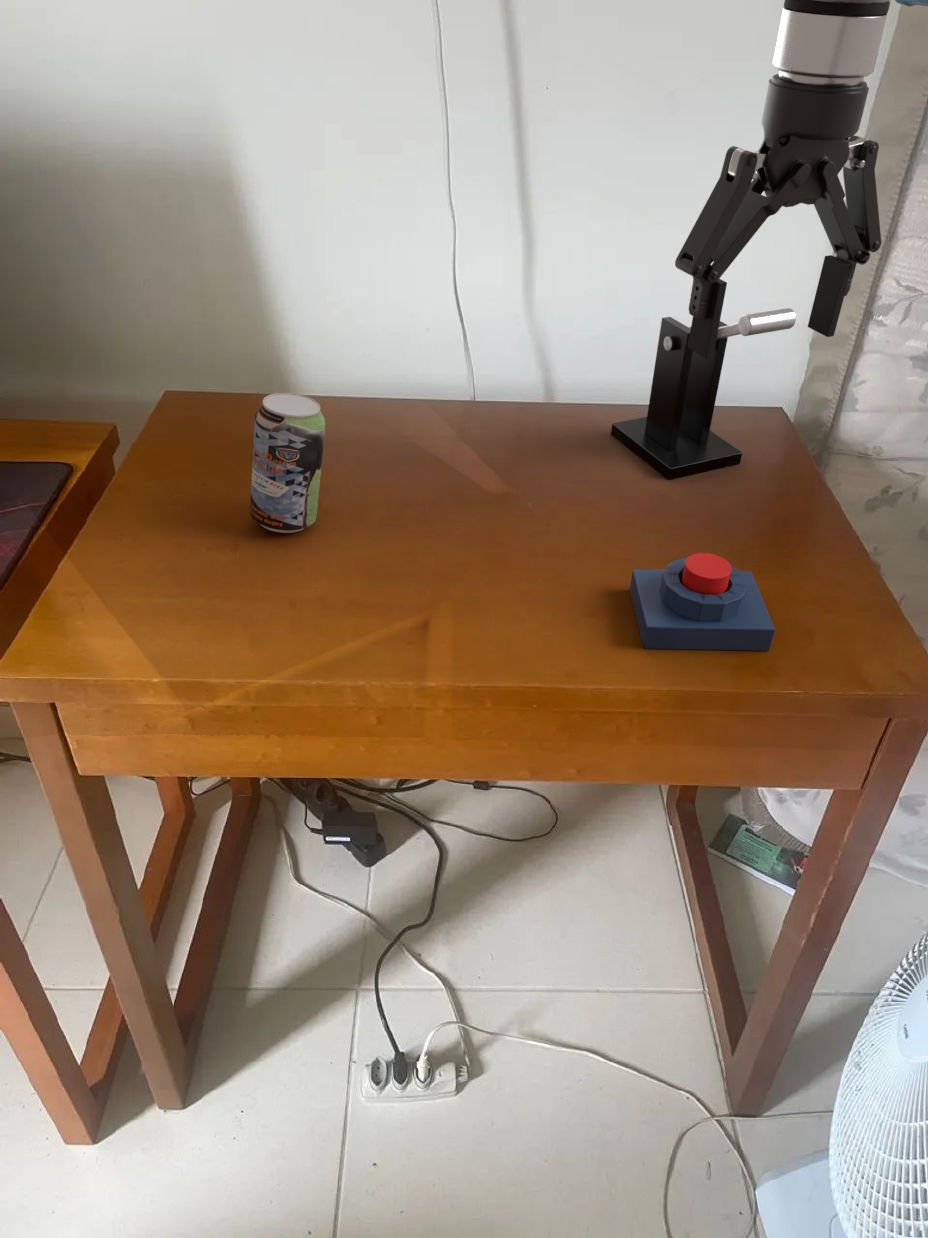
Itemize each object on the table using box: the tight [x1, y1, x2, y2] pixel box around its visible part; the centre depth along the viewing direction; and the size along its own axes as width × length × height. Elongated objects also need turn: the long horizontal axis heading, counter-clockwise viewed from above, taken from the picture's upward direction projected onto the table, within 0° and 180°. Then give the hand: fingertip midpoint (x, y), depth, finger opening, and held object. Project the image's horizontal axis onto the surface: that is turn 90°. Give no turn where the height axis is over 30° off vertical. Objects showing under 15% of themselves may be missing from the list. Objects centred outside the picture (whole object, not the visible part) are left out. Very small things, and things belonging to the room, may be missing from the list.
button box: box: [629, 556, 776, 652], centre depth 79 cm, size 10×8×4 cm
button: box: [682, 552, 732, 595], centre depth 78 cm, size 4×4×2 cm
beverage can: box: [249, 392, 326, 534], centre depth 87 cm, size 6×7×12 cm
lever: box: [688, 307, 797, 353], centre depth 93 cm, size 13×5×2 cm
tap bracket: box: [610, 316, 743, 480], centre depth 100 cm, size 11×9×14 cm
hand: (761, 342), depth 89 cm, fingers open, 13 cm apart
